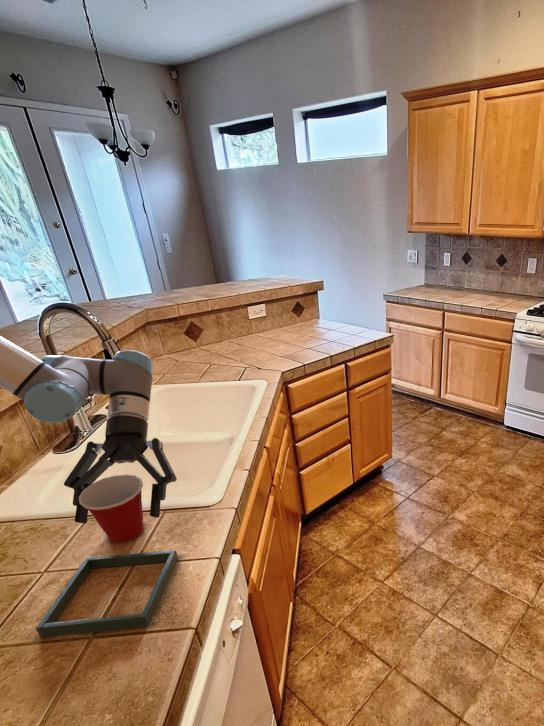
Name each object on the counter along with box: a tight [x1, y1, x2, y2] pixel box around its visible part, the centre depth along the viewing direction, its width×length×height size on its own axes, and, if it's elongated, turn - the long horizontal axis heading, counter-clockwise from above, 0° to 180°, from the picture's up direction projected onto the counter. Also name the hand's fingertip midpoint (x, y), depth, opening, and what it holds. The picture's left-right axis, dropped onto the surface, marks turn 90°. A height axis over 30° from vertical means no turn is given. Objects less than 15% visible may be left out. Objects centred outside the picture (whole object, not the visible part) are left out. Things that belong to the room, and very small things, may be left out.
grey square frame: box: [35, 549, 179, 638], centre depth 74 cm, size 16×16×3 cm
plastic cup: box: [79, 473, 144, 543], centre depth 86 cm, size 11×11×12 cm
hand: (118, 519), depth 85 cm, fingers open, 13 cm apart
